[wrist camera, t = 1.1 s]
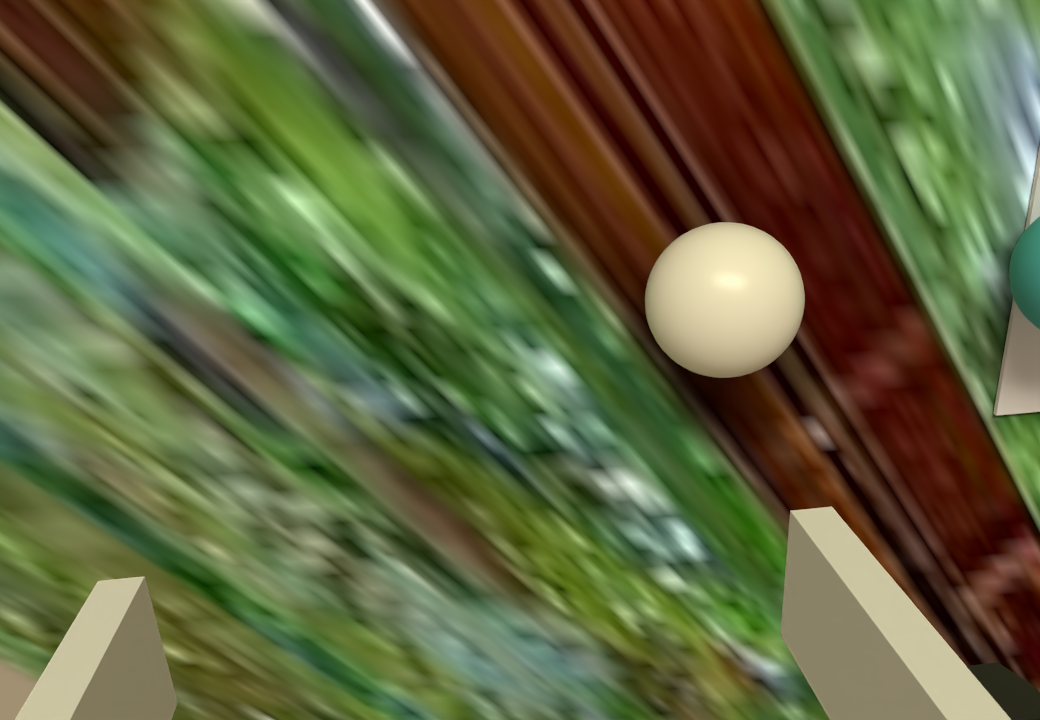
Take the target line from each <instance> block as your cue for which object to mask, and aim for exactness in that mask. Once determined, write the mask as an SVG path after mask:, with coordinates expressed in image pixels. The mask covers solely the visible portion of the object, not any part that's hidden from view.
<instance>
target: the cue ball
mask: <svg viewBox="0 0 1040 720" xmlns="http://www.w3.org/2000/svg"><path fill="white" fill-rule="evenodd" d="M804 304H805V294H804V286H803V281H802V278H801V274H800V271H799V269H798V267H797V265H796V263H795V261H794V260H793V258H792V257H791V255H790V253H789V252H788V251H787V250H786V249H785V248H784V246H783V245H781V244H780V243H779V242H778V241H777V240H776V239H774V238H773V237H772V236H770V235H769V234H767V233H766V232H764V231H761V230H759V229H757V228H754V227H752V226H749V225H745V224H740V223H731V222H719V223H712V224H707V225H704V226H700V227H698V228H695V229H693V230H690V231H688V232H687V233H685V234H683V235H681V236H680V237H679V238H677V239H676V240H674V241H673V242H672V243H671V244H670V245H669V246H668V247H667V248H666V249H665V250H664V251H663V252H662V254H661V255H660V256H659V258H658V259H657V261H656V263H655V264H654V266H653V268H652V271H651V273H650V276H649V279H648V282H647V286H646V291H645V310H646V316H647V321H648V324H649V327H650V330H651V332H652V334H653V336H654V338H655V340H656V342H657V343H658V344H659V346H660V347H661V349H662V350H663V351H664V352H665V353H666V354H667V355H668V356H669V357H670V358H671V359H672V360H674V361H675V362H676V363H677V364H679V365H681V366H682V367H684V368H686V369H688V370H690V371H692V372H695V373H697V374H700V375H705V376H709V377H717V378H731V377H738V376H743V375H746V374H750V373H753V372H755V371H758V370H760V369H762V368H763V367H765V366H767V365H768V364H770V363H771V362H773V361H774V360H775V359H776V358H778V357H779V356H780V355H781V354H782V353H783V352H784V351H785V350H786V348H787V347H788V346H789V344H790V343H791V342H792V340H793V339H794V337H795V335H796V333H797V331H798V329H799V326H800V323H801V320H802V316H803V311H804Z"/></svg>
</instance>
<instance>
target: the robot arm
mask: <svg viewBox="0 0 1040 720" xmlns="http://www.w3.org/2000/svg"><path fill="white" fill-rule="evenodd" d="M781 636H782V638H783V640H784V641H785V643H786V645H787V647H788V648H789V650H790V652H791V654H792V655H793V657H794V659H795V660H796V662H797V664H798V666H799V667H800V669H801V671H802V672H803V674H804V676H805V678H806V679H807V681H808V683H809V685H810V686H811V688H812V690H813V691H814V693H815V695H816V697H817V698H818V700H819V702H820V703H821V705H822V707H823V709H824V710H825V712H826V714H827V716H828V717H829V719H830V720H1040V692H1039V691H1038V690H1037V689H1036V688H1035V687H1034V686H1033V685H1031V684H1030V683H1028V682H1027V681H1025V680H1024V679H1022V678H1021V677H1019V676H1018V675H1016V674H1014V673H1013V672H1011V671H1010V670H1008V669H1007V668H1005V667H1004V666H1002V665H1001V664H999V663H989V664H981V665H972V666H966V665H965V664H964V663H963V662H962V661H961V659H960V658H959V657H958V656H957V655H956V654H955V652H954V651H953V650H952V649H951V648H950V646H949V645H948V644H947V643H946V642H945V640H944V639H943V638H942V637H941V636H940V635H939V633H938V632H937V631H936V630H935V629H934V627H933V626H932V625H931V624H930V623H929V622H928V620H927V619H926V618H925V617H924V616H923V614H922V613H921V612H920V611H919V610H918V608H917V607H916V606H915V605H914V604H913V603H912V601H911V600H910V599H909V598H908V597H907V595H906V594H905V593H904V592H903V591H902V589H901V588H900V587H899V586H898V585H897V584H896V582H895V581H894V580H893V579H892V578H891V576H890V575H889V574H888V573H887V572H886V571H885V569H884V568H883V567H882V566H881V565H880V563H879V562H878V561H877V560H876V559H875V557H874V556H873V555H872V554H871V553H870V552H869V550H868V549H867V548H866V547H865V546H864V544H863V543H862V542H861V541H860V540H859V539H858V537H857V536H856V535H855V534H854V533H853V531H852V530H851V529H850V528H849V527H848V525H847V524H846V523H845V522H844V521H843V520H842V518H841V517H840V516H839V515H838V514H837V512H836V511H835V510H834V509H833V508H832V507H823V508H814V509H804V510H794V511H790V522H789V535H788V548H787V561H786V573H785V586H784V599H783V612H782V625H781ZM176 706H177V699H176V695H175V691H174V687H173V683H172V680H171V676H170V672H169V668H168V664H167V660H166V657H165V653H164V649H163V645H162V641H161V638H160V634H159V630H158V626H157V622H156V618H155V615H154V611H153V607H152V603H151V599H150V595H149V592H148V588H147V584H146V580H145V576H144V577H134V578H124V579H115V580H105V581H98V582H97V584H96V585H95V587H94V589H93V590H92V592H91V594H90V595H89V597H88V599H87V600H86V602H85V604H84V605H83V607H82V609H81V610H80V612H79V614H78V615H77V617H76V619H75V620H74V622H73V624H72V625H71V627H70V629H69V630H68V632H67V634H66V635H65V637H64V639H63V640H62V642H61V644H60V645H59V647H58V649H57V650H56V652H55V654H54V655H53V657H52V659H51V660H50V662H49V664H48V665H47V667H46V669H45V670H44V672H43V674H42V675H41V677H40V679H39V680H38V682H37V684H36V685H35V687H34V689H33V690H32V692H31V694H30V696H29V697H28V699H27V700H26V702H25V704H24V705H23V707H22V709H21V710H20V712H19V714H18V715H17V717H16V719H15V720H171V719H172V716H173V714H174V711H175V708H176Z"/></svg>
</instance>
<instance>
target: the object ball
mask: <svg viewBox="0 0 1040 720" xmlns="http://www.w3.org/2000/svg"><path fill="white" fill-rule="evenodd" d="M1009 284H1010V289H1011V292H1012V295H1013V298H1014V300H1015V302H1016V304H1017V306H1018V308H1019V309H1020V311H1021V312H1022V313H1023V315H1024V316H1025V317H1026V318H1027V319H1028V320H1029V321H1030V322H1031V323H1032V324H1033V325H1034V326H1035V327H1037V328H1039V329H1040V217H1038V218H1037V219H1036V220H1035V221H1034V222H1032V223H1031V225H1030V226H1029V227H1028V228H1027V229H1026V230H1025V231H1024V233H1023V234H1022V235H1021V237H1020V238H1019V240H1018V242H1017V244H1016V246H1015V248H1014V250H1013V253H1012V256H1011V260H1010V265H1009Z"/></svg>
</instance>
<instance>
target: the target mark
mask: <svg viewBox="0 0 1040 720" xmlns="http://www.w3.org/2000/svg"><path fill="white" fill-rule="evenodd" d="M1038 217H1040V147H1039V152H1038V158H1037V164H1036V170H1035V176H1034V181H1033V187H1032V193H1031V199H1030V204H1029V210H1028V216H1027V222H1026V227H1025V230H1026V229H1027V228H1028V227H1029V226H1030V225H1031V223H1032V222H1034V221H1035V220H1036V219H1037V218H1038ZM1030 412H1040V329H1039V328H1037V327H1035V326H1034V325H1033V324H1032V323H1031V322H1030V321H1029V320H1028V319H1027V318H1026V317H1025V316H1024V315H1023V313H1022V312H1021V311H1020V309H1019V308H1018V306H1017V304H1016V302H1015V300H1014V298H1013V302H1012V308H1011V314H1010V320H1009V326H1008V331H1007V337H1006V343H1005V349H1004V354H1003V360H1002V366H1001V372H1000V377H999V383H998V389H997V395H996V401H995V406H994V412H993V414H995V415H996V416H997V415H1008V414H1019V413H1030Z"/></svg>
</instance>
